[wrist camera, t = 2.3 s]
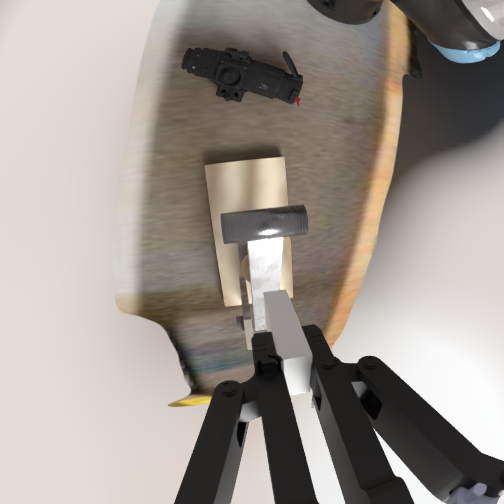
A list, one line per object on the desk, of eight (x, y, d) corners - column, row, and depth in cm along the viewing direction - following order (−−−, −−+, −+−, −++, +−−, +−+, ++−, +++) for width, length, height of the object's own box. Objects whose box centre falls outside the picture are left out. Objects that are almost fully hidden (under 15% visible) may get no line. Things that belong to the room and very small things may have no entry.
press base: (281, 156, 42) (308, 158, 28) (290, 292, 50) (312, 342, 36) (205, 164, 41) (193, 170, 27) (225, 300, 50) (225, 355, 36)
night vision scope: (189, 73, 38) (203, 21, 29) (290, 103, 41) (314, 56, 33) (173, 92, 34) (186, 31, 25) (289, 126, 37) (319, 72, 29)
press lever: (301, 198, 23) (309, 219, 22) (287, 311, 39) (291, 327, 38) (219, 207, 23) (221, 229, 21) (239, 318, 39) (241, 334, 37)
